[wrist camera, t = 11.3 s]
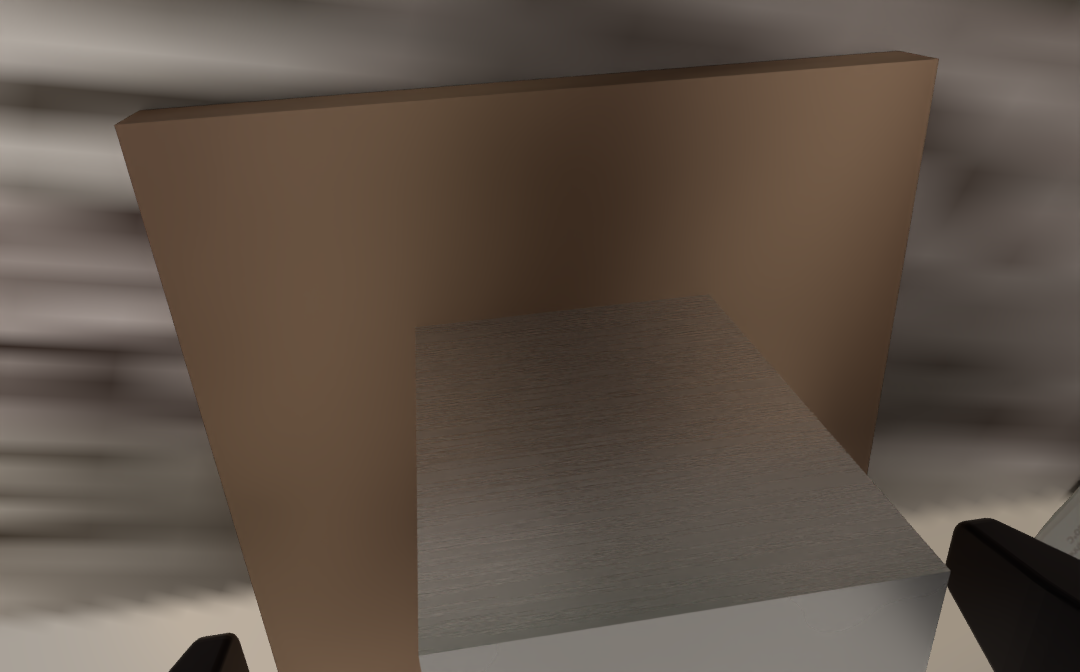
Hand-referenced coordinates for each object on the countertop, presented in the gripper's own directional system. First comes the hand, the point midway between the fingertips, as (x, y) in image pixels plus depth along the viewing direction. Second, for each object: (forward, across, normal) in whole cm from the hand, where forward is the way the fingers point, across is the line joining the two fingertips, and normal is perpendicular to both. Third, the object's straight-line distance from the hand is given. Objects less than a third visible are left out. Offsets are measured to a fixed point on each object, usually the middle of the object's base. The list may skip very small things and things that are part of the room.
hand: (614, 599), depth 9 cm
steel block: (+4, 0, 0) cm, 4 cm away
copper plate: (+5, 0, 0) cm, 5 cm away
